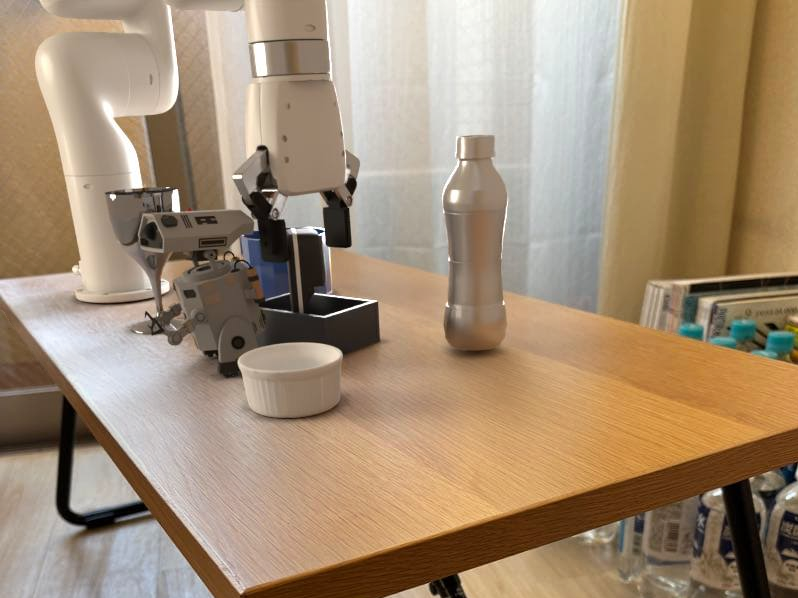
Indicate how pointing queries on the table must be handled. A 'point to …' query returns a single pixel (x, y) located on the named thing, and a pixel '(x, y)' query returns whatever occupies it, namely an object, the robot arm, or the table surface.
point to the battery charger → (304, 267)
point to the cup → (278, 266)
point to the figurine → (209, 283)
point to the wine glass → (125, 224)
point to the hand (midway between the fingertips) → (308, 254)
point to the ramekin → (292, 379)
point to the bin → (322, 322)
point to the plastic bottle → (475, 247)
